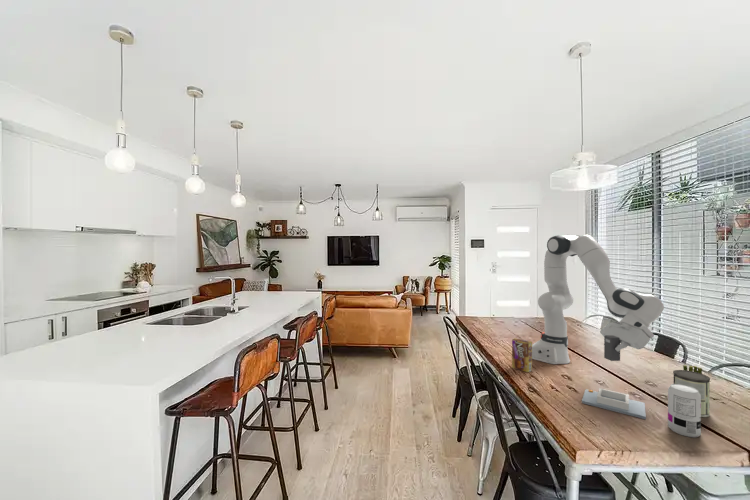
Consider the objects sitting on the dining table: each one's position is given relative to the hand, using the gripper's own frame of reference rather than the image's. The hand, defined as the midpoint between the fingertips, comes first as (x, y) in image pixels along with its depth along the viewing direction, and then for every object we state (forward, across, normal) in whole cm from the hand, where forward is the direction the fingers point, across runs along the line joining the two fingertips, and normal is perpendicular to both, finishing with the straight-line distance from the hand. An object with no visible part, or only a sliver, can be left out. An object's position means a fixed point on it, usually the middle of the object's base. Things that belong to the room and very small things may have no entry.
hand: (610, 348), depth 141 cm
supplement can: (+13, +31, +15) cm, 36 cm away
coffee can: (0, +17, +27) cm, 32 cm away
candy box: (+32, -28, -4) cm, 43 cm away
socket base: (+19, +11, +8) cm, 23 cm away
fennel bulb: (-11, +2, +39) cm, 41 cm away
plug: (+3, 0, +4) cm, 5 cm away
